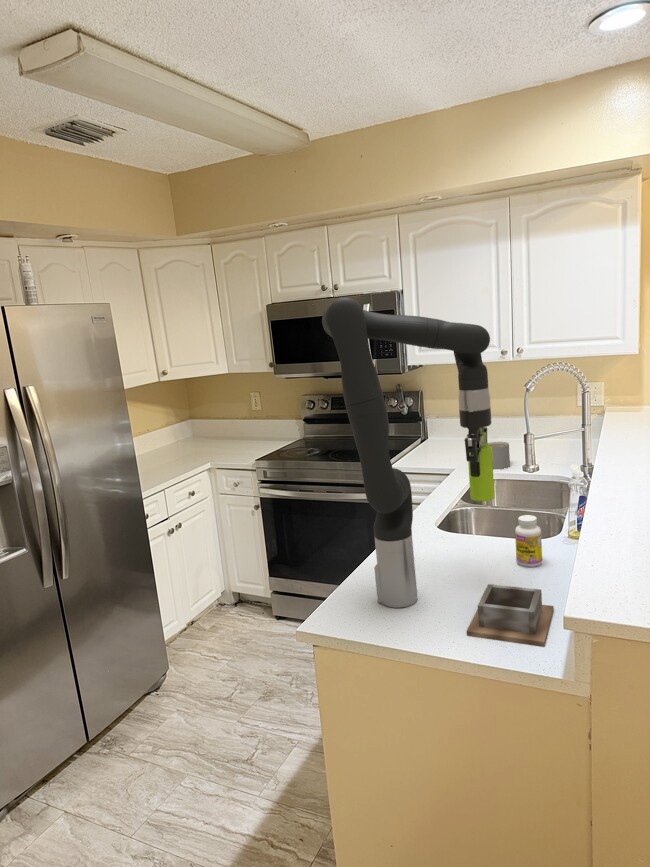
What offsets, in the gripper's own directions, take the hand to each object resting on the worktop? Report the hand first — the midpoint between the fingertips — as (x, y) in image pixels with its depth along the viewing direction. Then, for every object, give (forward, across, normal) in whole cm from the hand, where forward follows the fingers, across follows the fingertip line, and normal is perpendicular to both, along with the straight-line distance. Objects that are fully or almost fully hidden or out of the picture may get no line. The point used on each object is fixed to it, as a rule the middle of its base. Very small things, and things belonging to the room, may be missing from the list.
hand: (478, 472), depth 151 cm
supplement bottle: (+29, -13, +9) cm, 33 cm away
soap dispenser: (+7, 0, 0) cm, 7 cm away
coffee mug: (+29, -113, -19) cm, 118 cm away
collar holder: (+29, +20, +10) cm, 37 cm away
